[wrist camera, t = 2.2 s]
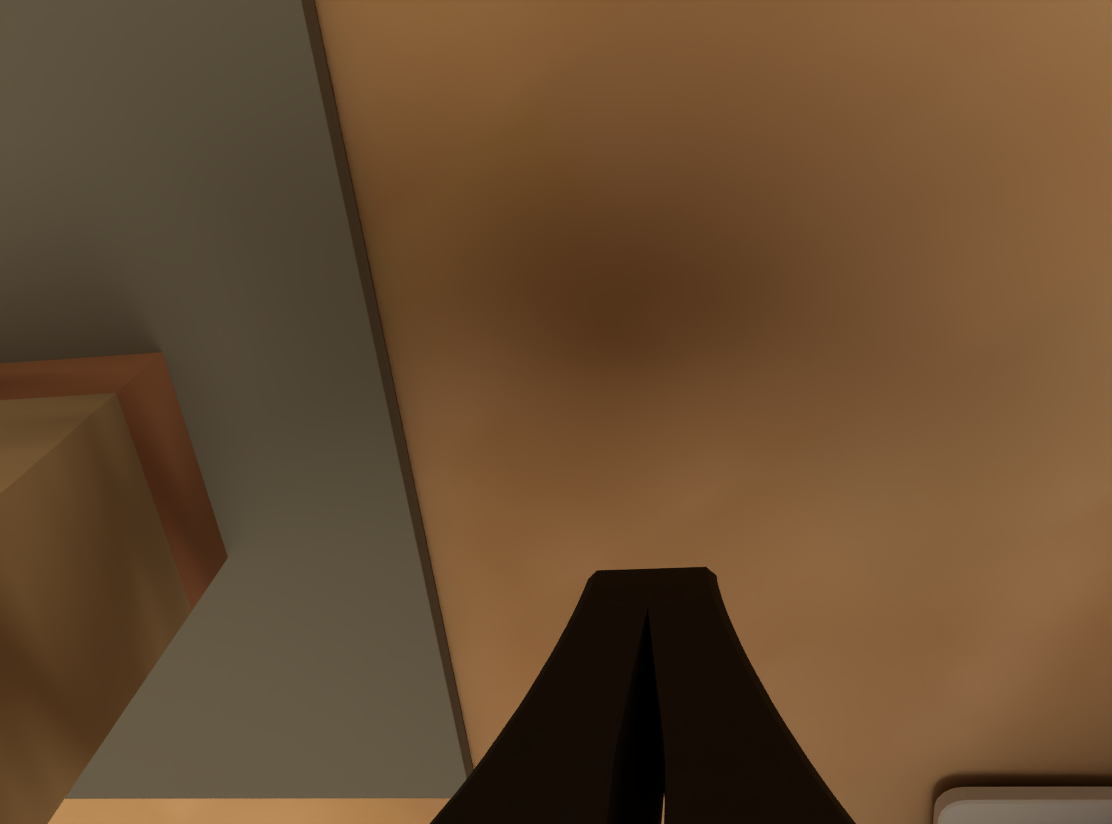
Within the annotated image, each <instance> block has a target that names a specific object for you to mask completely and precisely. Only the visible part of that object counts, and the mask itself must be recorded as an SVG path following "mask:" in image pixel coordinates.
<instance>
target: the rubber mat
mask: <svg viewBox="0 0 1112 824" xmlns="http://www.w3.org/2000/svg"><path fill="white" fill-rule="evenodd" d="M158 352H163V354H164V358H165V361H166V364H167V367H168V370H169V373H170V377H171V380H172V383H173V386H174V389H175V392H176V395H177V399H178V402H179V405H180V408H181V411H182V414H183V417H184V421H185V424H186V427H187V430H188V433H189V436H190V440H191V443H192V446H193V449H194V452H195V455H196V458H197V462H198V465H199V468H200V471H201V474H202V477H203V480H204V484H205V487H206V490H207V493H208V496H209V499H210V502H211V506H212V509H213V512H214V515H215V518H216V521H217V525H218V528H219V531H220V534H221V537H222V540H223V543H224V547H225V550H226V553H227V556H228V559H227V560H226V561H225V563H224V564H223V566H222V567H221V569H220V570H219V572H218V573H217V575H216V576H215V578H214V579H213V581H212V582H211V584H210V585H209V587H208V588H207V589H206V591H205V592H204V594H203V595H202V597H201V598H200V600H199V601H198V603H197V604H196V606H195V607H194V609H193V610H192V612H191V613H190V614H189V616H188V617H187V619H186V620H185V622H184V623H183V625H182V626H181V628H180V629H179V631H178V632H177V634H176V635H175V637H174V638H173V640H172V641H171V642H170V644H169V645H168V647H167V648H166V650H165V651H164V653H163V654H162V656H161V657H160V659H159V660H158V662H157V663H156V665H155V666H154V667H153V669H152V670H151V672H150V673H149V675H148V676H147V678H146V679H145V681H144V682H143V684H142V685H141V687H140V688H139V690H138V691H137V693H136V694H135V695H134V697H133V698H132V700H131V701H130V703H129V704H128V706H127V707H126V709H125V710H124V712H123V713H122V715H121V716H120V718H119V719H118V720H117V722H116V723H115V725H114V726H113V728H112V729H111V731H110V732H109V734H108V735H107V737H106V738H105V740H104V741H103V743H102V744H101V746H100V747H99V748H98V750H97V751H96V753H95V754H94V756H93V757H92V759H91V760H90V762H89V763H88V765H87V766H86V768H85V769H84V771H83V772H82V773H81V775H80V776H79V778H78V779H77V781H76V782H75V784H74V785H73V787H72V788H71V790H70V791H69V793H68V794H67V796H66V797H65V799H107V798H452V797H453V796H454V794H455V793H456V792H457V791H458V789H459V788H460V787H461V786H462V784H463V783H464V782H465V781H466V779H467V778H468V777H469V775H470V774H471V773H472V771H473V766H472V761H471V757H470V752H469V747H468V742H467V737H466V733H465V728H464V723H463V718H462V713H461V708H460V704H459V699H458V694H457V689H456V684H455V679H454V675H453V670H452V665H451V660H450V655H449V651H448V646H447V641H446V636H445V631H444V626H443V622H442V617H441V612H440V607H439V602H438V597H437V593H436V588H435V583H434V578H433V573H432V569H431V564H430V559H429V554H428V549H427V544H426V540H425V535H424V530H423V525H422V520H421V515H420V511H419V506H418V501H417V496H416V491H415V487H414V482H413V477H412V472H411V467H410V462H409V458H408V453H407V448H406V443H405V438H404V433H403V429H402V424H401V419H400V414H399V409H398V405H397V400H396V395H395V390H394V385H393V380H392V376H391V371H390V366H389V361H388V356H387V351H386V347H385V342H384V337H383V332H382V327H381V323H380V318H379V313H378V308H377V303H376V298H375V294H374V289H373V284H372V279H371V274H370V269H369V265H368V260H367V255H366V250H365V245H364V241H363V236H362V231H361V226H360V221H359V216H358V212H357V207H356V202H355V197H354V192H353V187H352V183H351V178H350V173H349V168H348V163H347V159H346V154H345V149H344V144H343V139H342V134H341V130H340V125H339V120H338V115H337V110H336V105H335V101H334V96H333V91H332V86H331V81H330V77H329V72H328V67H327V62H326V57H325V52H324V48H323V43H322V38H321V33H320V28H319V23H318V19H317V14H316V9H315V4H314V0H0V363H14V362H29V361H43V360H57V359H72V358H86V357H100V356H115V355H129V354H143V353H158Z"/></svg>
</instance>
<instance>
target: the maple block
mask: <svg viewBox="0 0 1112 824" xmlns="http://www.w3.org/2000/svg"><path fill="white" fill-rule="evenodd" d="M227 559H228V556H227V553H226V550H225V547H224V543H223V540H222V537H221V534H220V531H219V528H218V525H217V521H216V518H215V515H214V512H213V509H212V506H211V502H210V499H209V496H208V493H207V490H206V487H205V484H204V480H203V477H202V474H201V471H200V468H199V465H198V462H197V458H196V455H195V452H194V449H193V446H192V443H191V440H190V436H189V433H188V430H187V427H186V424H185V421H184V417H183V414H182V411H181V408H180V405H179V402H178V399H177V395H176V392H175V389H174V386H173V383H172V380H171V377H170V373H169V370H168V367H167V364H166V361H165V358H164V354H163V352H158V353H143V354H129V355H115V356H100V357H86V358H72V359H57V360H43V361H29V362H14V363H0V824H48V822H49V821H50V819H51V818H52V816H53V815H54V813H55V812H56V810H57V809H58V807H59V806H60V804H61V803H62V801H63V800H64V799H65V797H66V796H67V794H68V793H69V791H70V790H71V788H72V787H73V785H74V784H75V782H76V781H77V779H78V778H79V776H80V775H81V773H82V772H83V771H84V769H85V768H86V766H87V765H88V763H89V762H90V760H91V759H92V757H93V756H94V754H95V753H96V751H97V750H98V748H99V747H100V746H101V744H102V743H103V741H104V740H105V738H106V737H107V735H108V734H109V732H110V731H111V729H112V728H113V726H114V725H115V723H116V722H117V720H118V719H119V718H120V716H121V715H122V713H123V712H124V710H125V709H126V707H127V706H128V704H129V703H130V701H131V700H132V698H133V697H134V695H135V694H136V693H137V691H138V690H139V688H140V687H141V685H142V684H143V682H144V681H145V679H146V678H147V676H148V675H149V673H150V672H151V670H152V669H153V667H154V666H155V665H156V663H157V662H158V660H159V659H160V657H161V656H162V654H163V653H164V651H165V650H166V648H167V647H168V645H169V644H170V642H171V641H172V640H173V638H174V637H175V635H176V634H177V632H178V631H179V629H180V628H181V626H182V625H183V623H184V622H185V620H186V619H187V617H188V616H189V614H190V613H191V612H192V610H193V609H194V607H195V606H196V604H197V603H198V601H199V600H200V598H201V597H202V595H203V594H204V592H205V591H206V589H207V588H208V587H209V585H210V584H211V582H212V581H213V579H214V578H215V576H216V575H217V573H218V572H219V570H220V569H221V567H222V566H223V564H224V563H225V561H226V560H227Z"/></svg>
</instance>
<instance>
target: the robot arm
mask: <svg viewBox="0 0 1112 824" xmlns="http://www.w3.org/2000/svg"><path fill="white" fill-rule="evenodd" d="M664 796H665V814H664V824H856V823H855V822H854V821H853V819H852V818H851V817H850V816H849V814H848V813H847V812H846V810H845V809H844V808H843V807H842V805H841V804H840V803H839V801H838V800H837V799H836V797H835V796H834V795H833V793H832V792H831V791H830V789H829V788H828V786H827V785H826V784H825V782H824V781H823V779H822V778H821V777H820V775H819V774H818V772H817V771H816V769H815V768H814V767H813V765H812V764H811V762H810V761H809V759H808V758H807V756H806V755H805V753H804V752H803V750H802V749H801V747H800V746H799V744H798V743H797V741H796V739H795V738H794V736H793V735H792V733H791V732H790V730H789V729H788V727H787V726H786V724H785V722H784V721H783V719H782V717H781V716H780V714H779V713H778V711H777V709H776V708H775V706H774V704H773V703H772V701H771V699H770V697H769V695H768V694H767V692H766V690H765V688H764V686H763V685H762V683H761V681H760V679H759V677H758V676H757V674H756V672H755V670H754V668H753V667H752V665H751V663H750V661H749V659H748V657H747V655H746V653H745V651H744V649H743V647H742V645H741V643H740V641H739V639H738V636H737V634H736V632H735V630H734V628H733V625H732V623H731V621H730V618H729V616H728V613H727V611H726V608H725V606H724V603H723V600H722V597H721V594H720V590H719V587H718V582H717V576H716V575H715V574H714V573H713V572H711V571H710V570H709V569H708V568H707V567H690V568H659V569H629V570H599V571H596V572H595V573H594V574H593V575H592V576H591V577H590V578H589V579H588V581H587V583H586V586H585V588H584V591H583V593H582V595H581V597H580V600H579V602H578V604H577V606H576V608H575V610H574V612H573V614H572V616H571V618H570V620H569V622H568V624H567V626H566V628H565V630H564V632H563V633H562V635H561V637H560V639H559V641H558V643H557V644H556V646H555V648H554V650H553V652H552V653H551V655H550V657H549V658H548V660H547V662H546V663H545V665H544V667H543V668H542V670H541V672H540V673H539V675H538V677H537V678H536V680H535V682H534V683H533V685H532V686H531V688H530V690H529V691H528V693H527V695H526V696H525V698H524V699H523V701H522V702H521V704H520V705H519V707H518V708H517V710H516V711H515V713H514V714H513V716H512V717H511V718H510V720H509V721H508V723H507V724H506V726H505V727H504V728H503V730H502V731H501V733H500V734H499V736H498V737H497V739H496V740H495V741H494V743H493V744H492V746H491V747H490V749H489V750H488V751H487V753H486V754H485V756H484V757H483V758H482V760H481V761H480V762H479V764H478V765H477V766H476V768H475V769H474V770H473V771H472V773H471V774H470V775H469V777H468V778H467V779H466V781H465V782H464V783H463V784H462V786H461V787H460V788H459V789H458V791H457V792H456V793H455V794H454V796H453V797H452V798H451V799H450V800H449V801H448V803H447V804H446V805H445V806H444V807H443V809H442V810H441V811H440V812H439V813H438V815H437V816H436V817H435V818H434V819H433V820H432V822H431V823H430V824H661V821H662V810H663V798H664ZM933 824H1112V786H1111V787H958V788H952V789H950V790H948V791H946V792H944V793H943V794H942V795H940V796H939V797H938V798H937V800H936V803H935V806H934V817H933Z"/></svg>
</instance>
